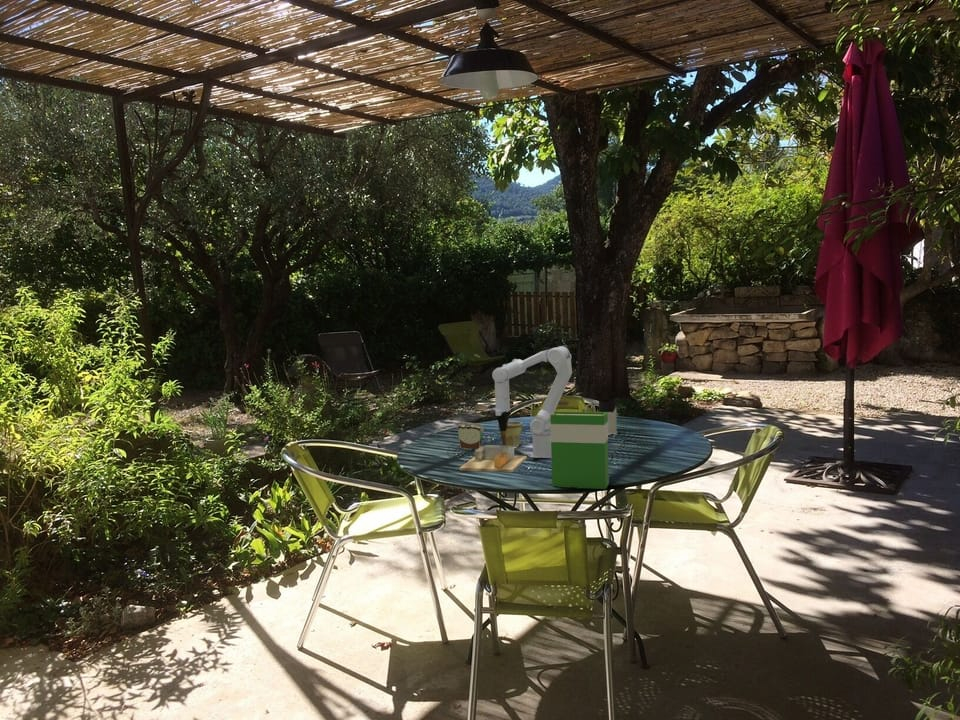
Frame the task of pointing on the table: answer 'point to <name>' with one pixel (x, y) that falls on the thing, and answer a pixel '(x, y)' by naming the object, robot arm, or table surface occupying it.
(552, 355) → the robot arm
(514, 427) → the ceramic cup
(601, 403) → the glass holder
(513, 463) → the base
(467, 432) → the food container
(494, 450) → the steel block
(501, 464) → the block
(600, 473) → the green box
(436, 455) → the table surface
